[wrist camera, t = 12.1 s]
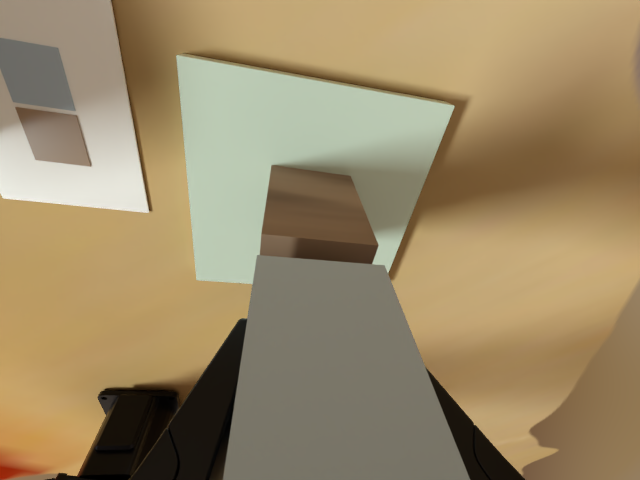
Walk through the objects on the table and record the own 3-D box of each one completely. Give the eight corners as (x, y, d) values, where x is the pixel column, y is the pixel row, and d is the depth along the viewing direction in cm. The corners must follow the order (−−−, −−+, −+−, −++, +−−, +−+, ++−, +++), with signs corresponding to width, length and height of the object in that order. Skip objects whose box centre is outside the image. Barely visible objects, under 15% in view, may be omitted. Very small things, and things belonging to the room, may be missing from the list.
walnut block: (334, 239, 17) (351, 321, 12) (265, 232, 17) (255, 316, 12) (350, 175, 15) (378, 245, 10) (271, 164, 14) (261, 234, 10)
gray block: (355, 342, 12) (401, 567, 7) (252, 339, 11) (221, 583, 6) (384, 265, 9) (485, 517, 5) (257, 255, 9) (214, 535, 4)
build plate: (377, 282, 21) (380, 292, 20) (200, 269, 19) (196, 280, 18) (445, 101, 14) (454, 105, 13) (183, 53, 12) (176, 54, 12)
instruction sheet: (149, 212, 16) (148, 213, 16) (4, 197, 15) (2, 198, 15) (106, -24, 11) (104, -24, 11) (-127, -74, 10) (-133, -75, 10)
